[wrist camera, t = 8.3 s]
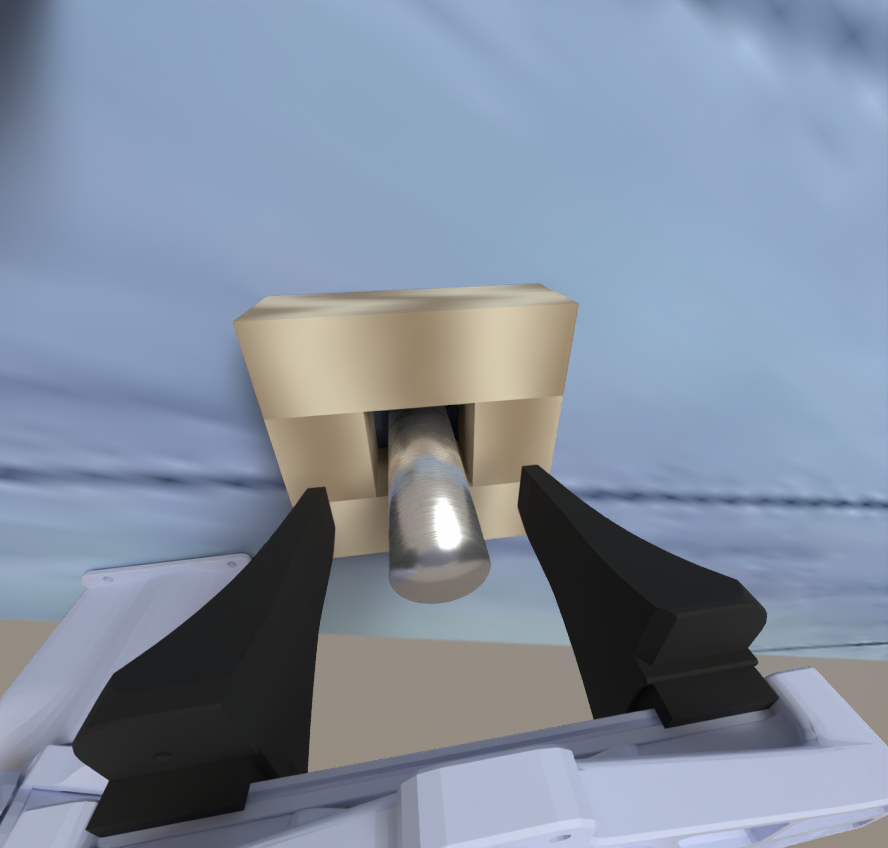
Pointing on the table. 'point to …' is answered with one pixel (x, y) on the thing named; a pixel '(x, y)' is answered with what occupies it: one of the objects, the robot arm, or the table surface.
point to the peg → (431, 510)
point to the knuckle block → (409, 391)
